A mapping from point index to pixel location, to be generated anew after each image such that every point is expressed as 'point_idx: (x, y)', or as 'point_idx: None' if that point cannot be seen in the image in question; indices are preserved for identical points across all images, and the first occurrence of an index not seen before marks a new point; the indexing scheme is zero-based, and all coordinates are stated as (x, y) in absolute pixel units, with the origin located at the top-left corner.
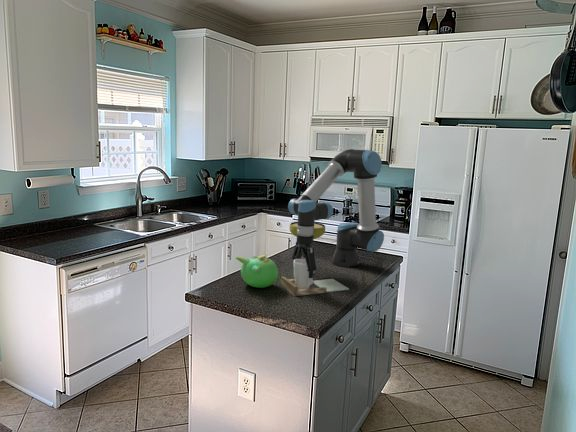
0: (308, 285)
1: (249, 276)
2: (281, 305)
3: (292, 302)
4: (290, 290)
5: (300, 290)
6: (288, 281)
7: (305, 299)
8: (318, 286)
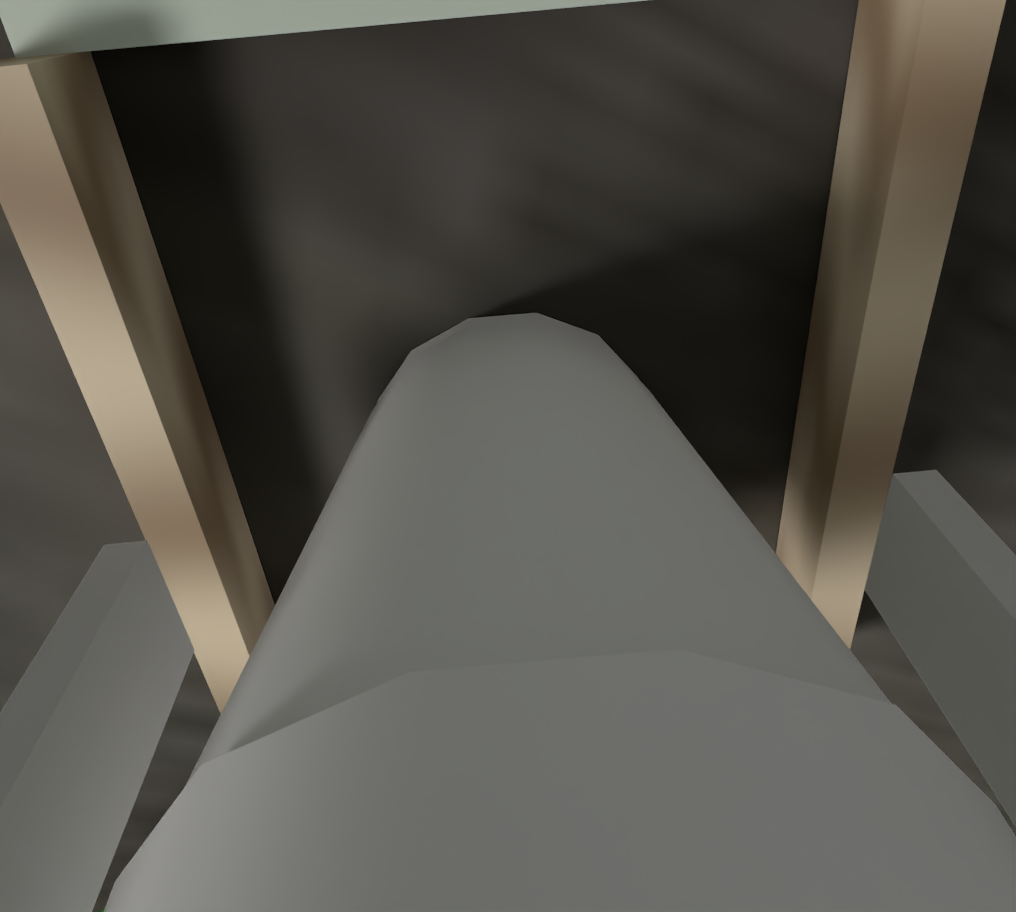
0: (675, 425)
1: None
2: (1003, 816)
3: None
4: None
5: (849, 627)
6: None
7: (1012, 547)
8: (476, 15)
